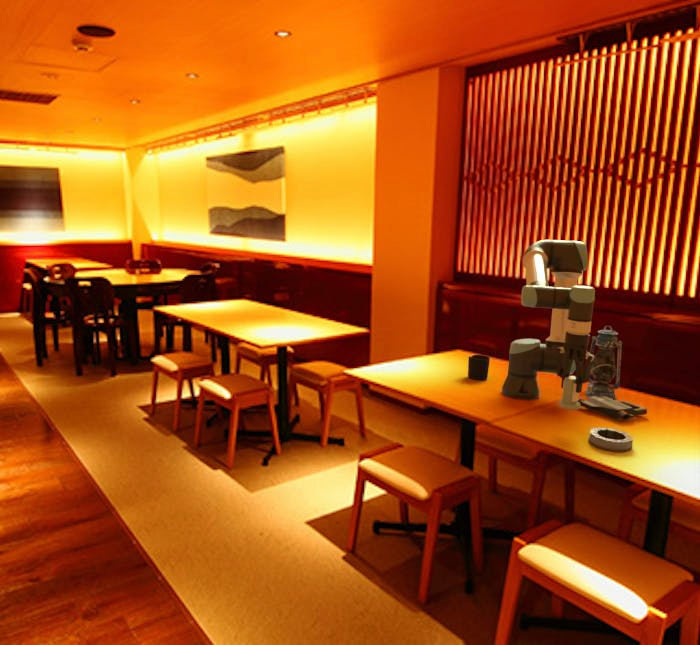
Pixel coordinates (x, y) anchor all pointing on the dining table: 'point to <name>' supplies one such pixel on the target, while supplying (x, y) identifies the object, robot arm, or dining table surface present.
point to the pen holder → (478, 367)
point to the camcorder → (613, 407)
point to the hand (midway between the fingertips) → (569, 399)
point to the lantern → (604, 364)
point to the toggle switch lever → (569, 395)
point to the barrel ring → (610, 440)
